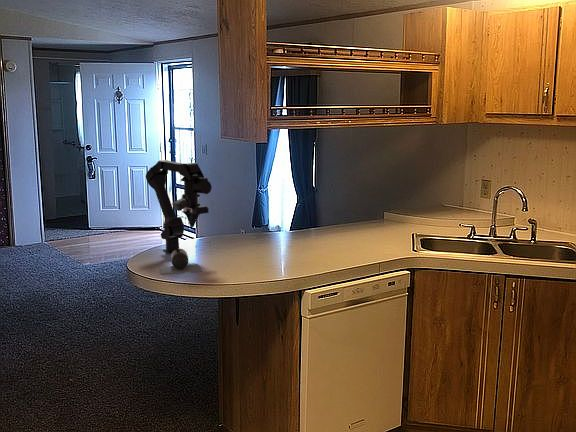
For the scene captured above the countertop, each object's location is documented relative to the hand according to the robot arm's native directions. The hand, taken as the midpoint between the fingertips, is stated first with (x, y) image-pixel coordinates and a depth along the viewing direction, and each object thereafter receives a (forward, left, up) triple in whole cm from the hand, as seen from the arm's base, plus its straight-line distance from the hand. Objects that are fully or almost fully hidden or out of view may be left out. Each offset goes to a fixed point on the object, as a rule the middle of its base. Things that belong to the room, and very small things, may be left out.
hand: (191, 227), depth 275 cm
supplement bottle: (+9, -12, -9) cm, 18 cm away
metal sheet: (+16, -16, -13) cm, 26 cm away
